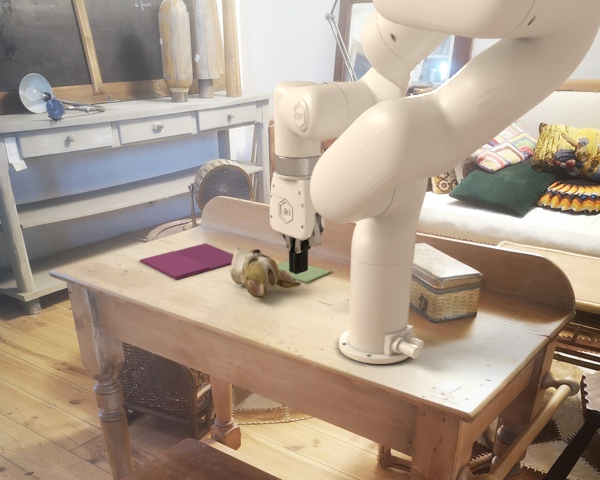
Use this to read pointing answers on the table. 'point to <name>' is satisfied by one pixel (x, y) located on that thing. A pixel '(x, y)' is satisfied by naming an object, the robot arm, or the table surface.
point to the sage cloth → (304, 276)
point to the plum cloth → (189, 261)
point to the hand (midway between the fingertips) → (298, 271)
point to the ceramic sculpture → (258, 272)
